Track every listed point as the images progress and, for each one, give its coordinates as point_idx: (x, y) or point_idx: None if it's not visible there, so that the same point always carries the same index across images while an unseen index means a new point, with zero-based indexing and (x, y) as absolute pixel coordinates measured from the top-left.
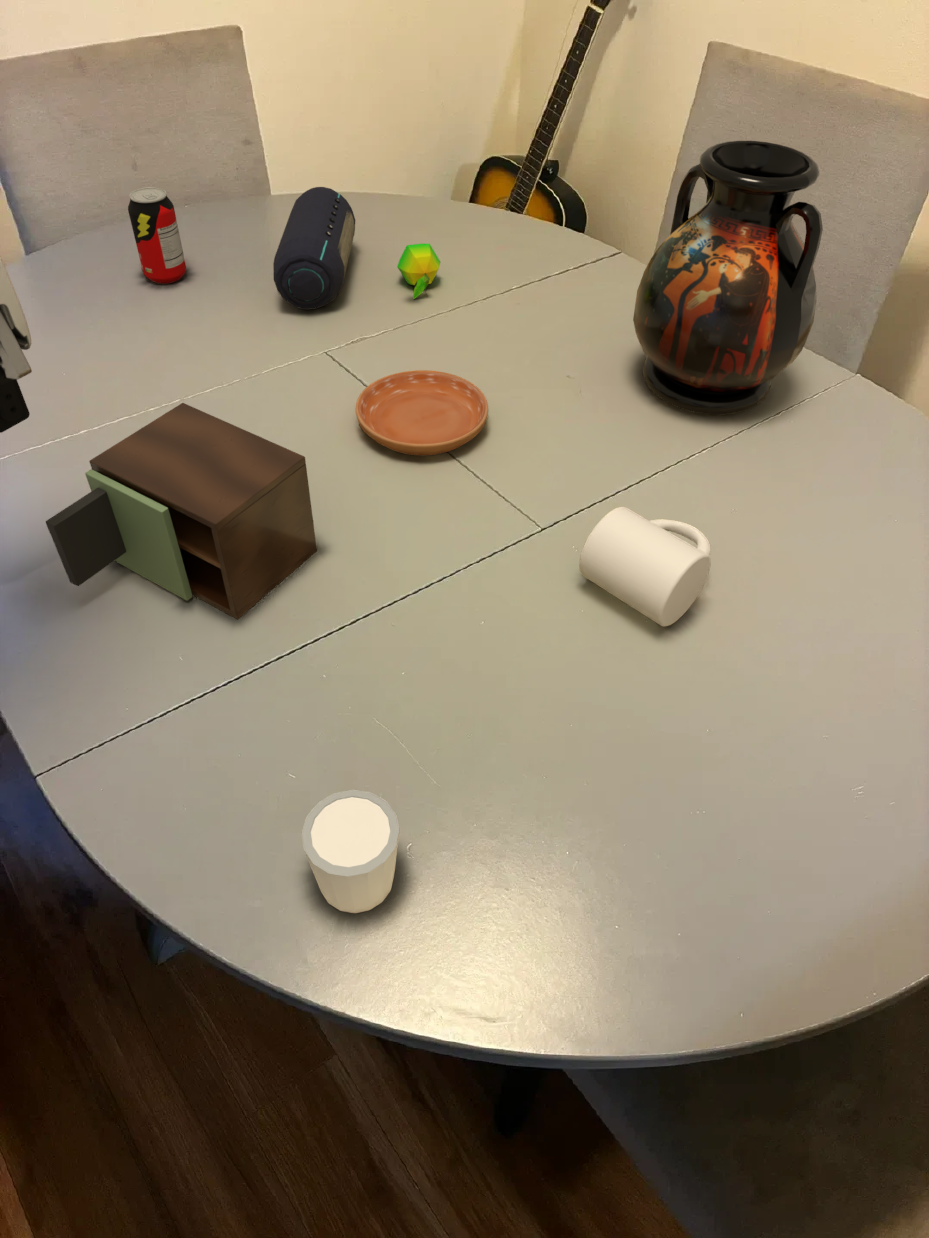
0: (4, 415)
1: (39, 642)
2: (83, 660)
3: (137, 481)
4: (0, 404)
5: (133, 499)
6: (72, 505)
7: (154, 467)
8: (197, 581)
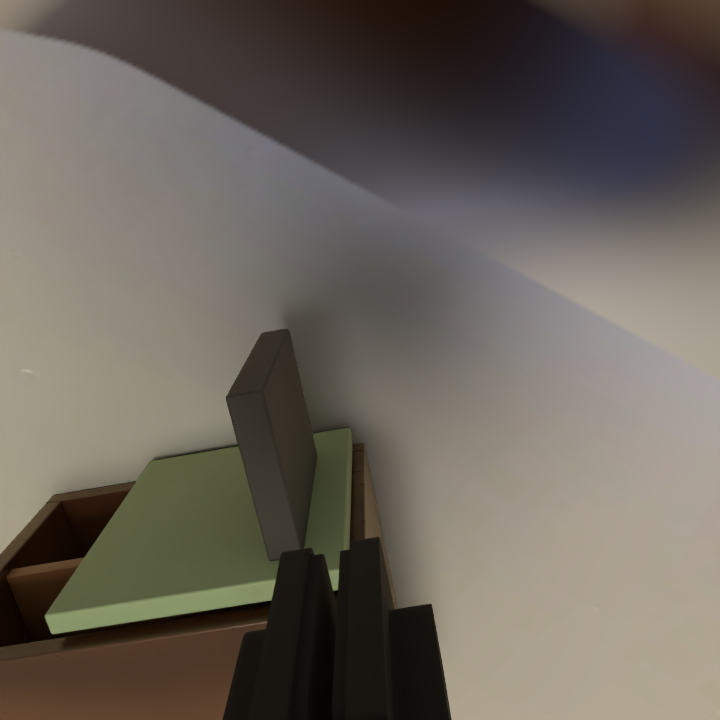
0: (245, 650)
1: (249, 195)
2: (141, 234)
3: (184, 643)
4: (227, 706)
5: (151, 595)
6: (274, 475)
7: (212, 699)
8: None
